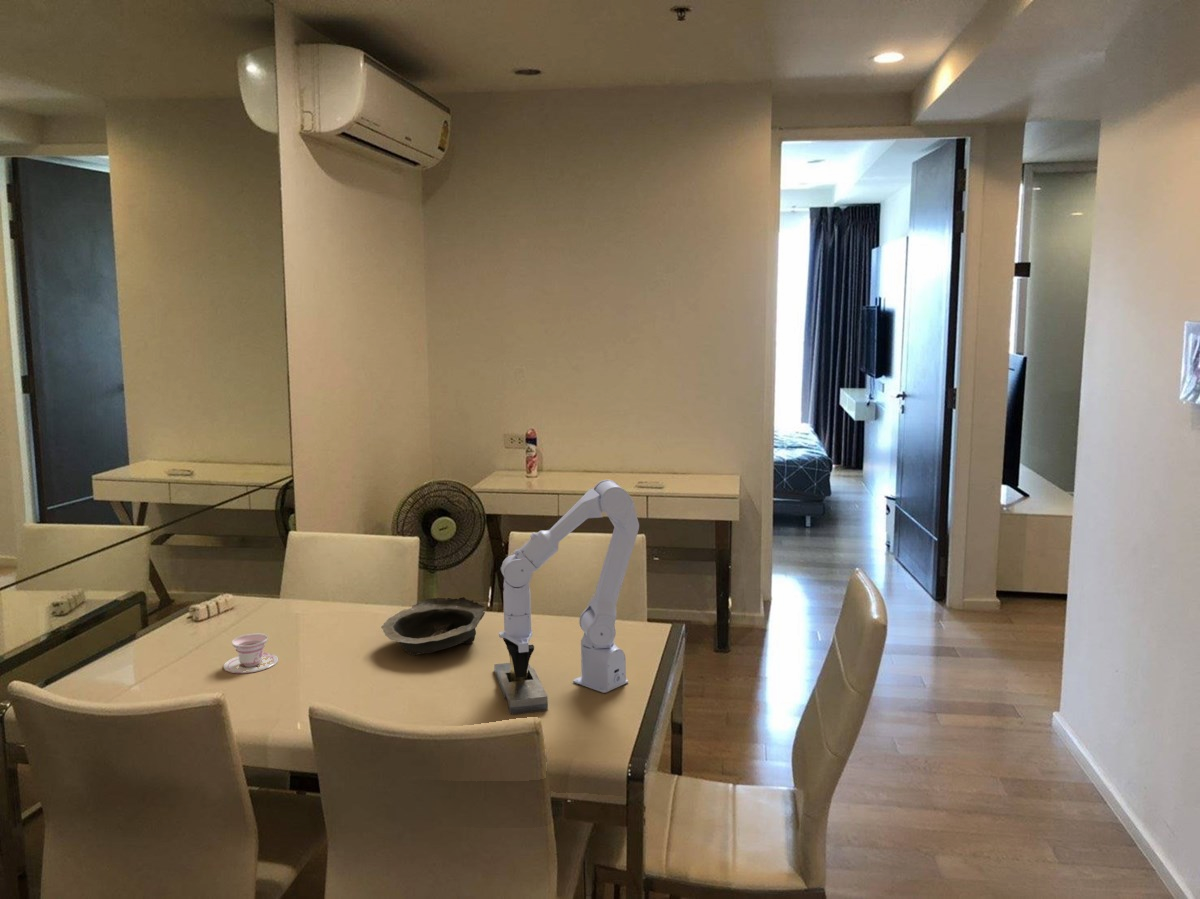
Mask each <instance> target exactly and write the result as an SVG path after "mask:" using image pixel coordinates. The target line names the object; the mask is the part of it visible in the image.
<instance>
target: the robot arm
mask: <svg viewBox="0 0 1200 899" xmlns="http://www.w3.org/2000/svg"><path fill="white" fill-rule="evenodd" d="M602 512H603V513H605V514H606V515H607V517H608V519H609V520H610V522H611V524H612V525H613V527H614V528H613V532H612V533H611V534H612V535H611V539H610V541H609V544H608V549H607V551H606V555H605V558H604V562H603V564H602V568H601V570H600V574H599V577H598V581H597V585H596V589H595V591H594V595H593V596H592V597H591V598H590V599H589V601H588V604H587V607H585V609H584V610H583V612H582V613H581V614H580V616H579V619H578V620H579V622H578V623H579V626H580V628H581V630H582V631H583V636H582V638H581V640H580V656H581V657H580V659H581V660H580V663H581V665H580V666H581V676H579V677H576V678H574V679H572V682H573V683H574V684H576V685H577V684H578V685H580V686H583V687H586V688H588V689H591V690H594V691H597V692H600V693H602V694H605V693H608V692H610V691H612V690H613V691H614V690H615V689H618V688H619V687H621V686H624V685H625V684H628V683H629V680H628V679H626V678H627V677H626V675H627V674H626V673H627V672H626V671H627V669H626V667H627V666H626V654H625V652H624V650H623V649H621V648H620V647H618V646H617V645H616V643H615V638H616V632H617V631H616V625H615V624H616V621H617V602H618V599H619V596H620V593H621V589H622V586H623V582H624V579H625V576H626V572H627V570H628V566H629V562H630V560H631V556H632V553H633V549H634V547H635V544H636V539H637V537H638V533H639V529H640V522H639V520H638V515H637V511H636V509H635V501H634V500H633V498H632V497H631V496H630V494H629V493H628V492H627V491H626V490H625V488H623V487H621V486H620V485H619V484H618V483H617V482H615V481H614V480H612V479H602V480H600V481H598V482H597V483H596V485H595V486H594V487H593V488H590V489H589V490H587V491H586V492H585V494H584V495H583V496H581V498H579V500H577V502H575V504H574V505H572V507H571V508H570V509H569V510H568V511H566V513H565V514H564V515H563V516H561V517H560V518H559V519H558V520H557V522H555V523H554V524H553V526H552V527H551V528H549V529H547V530H543V529H542V530H539V531H538V532H537V533H536V532H534V531H533V532H532V533H531V534H530V535H529V537H530V539H529V540H528V541H527V542H525V543H524V544H523V545H522V546H521V547H520V548H519V549H517V548H516V549H515V550H513V554H510V555H508V556H506V557H505V559H504V560H503V561H502V564H501V566H500V572H501V574H502V577H503V592H502V594H503V596H502V597H503V620H504V622H503V623H504V624H503V625H504V630H503V631H499V632H498V637H499V638H500V639H502V640H503V642H504V644H505V646H506V650H507V651H508V654H509V657H510V655H511V658H512V662H513V667H514V672H515V675H516V678H519V677H526V674H527V669H528V663H529V662H530V660H531V656H532V654H533V652H534V651H535V645H534V644H530V640H531V639H532V637H533V630H532V607H531V605H532V604H531V602H532V601H531V598H532V597H531V589H530V582H531V580H532V578H533V572H536V571H537V570H538V569H540V568H541V566H543V565H544V564H545V563H546V562H547V561H548V560H550V558H552V557H553V555H555V554H556V553H557V552H558V551H559V544H560V542H561V541H562V540H563V539H564V538H566V537H567V536H568V535H569V534H571V533H572V532H573V531H574V530H575V529H577V528H578V527H579V526H581V525H582V524H583V523H584V522H585V521H587V520H588V519H596V518H597V519H599V518H600V519H601V518H604V516H603V514H602ZM529 664H530V663H529Z"/></svg>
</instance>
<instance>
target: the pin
mask: <svg viewBox="0 0 1200 899" xmlns="http://www.w3.org/2000/svg"><path fill="white" fill-rule="evenodd" d="M509 663H510V668H511V682H515V681H524V680H528V672H527V674H526V677H519V678H516V675H515V672H514V667H513V662H512V658H511V655H510V656H509Z"/></svg>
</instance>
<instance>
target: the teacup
mask: <svg viewBox="0 0 1200 899" xmlns="http://www.w3.org/2000/svg"><path fill="white" fill-rule="evenodd" d="M268 638H269V637H268V635H267V634H266V633H262V632H261V633H259V632H253V633H247V634H242V635H240V636H237V637H235V638H233V640H232V641H231V645H232V647H233V648H235V651H236V652H237V653H238V656H234V657H233V658H231V659H228V660H227V661H226V662H225V663H224V664H223V666H222V667H223V670H224V671H225V672H228V673H231V674H232V673H233V674H251V673H255V672H256V673H257V672H260V671H264V670H267V669H270V668H272V667H273V666H275V665H276V664H277V663H278V662H279V658H278V656H277V655H275V654H273V653H268V652H264V648H265V644H266V643H267V641H268ZM263 656H264V657H263ZM266 657H269V658H268V659H267V660H265V659H263V658H266ZM270 658H271V659H270ZM262 659H263V660H262ZM261 660H262V661H261ZM271 660H273V662H270V664H267V662H269V661H271ZM260 662H261V664H263V663H266V664H265V666H263V665H260ZM238 665H239V668H238V669H237V668H236V667H237V666H238ZM241 665H244V667H243V666H241ZM259 665H260V667H259V669H258V668H257V667H256V666H259ZM246 670H249V671H246ZM243 671H246V672H243Z"/></svg>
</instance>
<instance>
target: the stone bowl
mask: <svg viewBox="0 0 1200 899" xmlns="http://www.w3.org/2000/svg"><path fill="white" fill-rule="evenodd" d="M484 610H486V607H485V606H484V605H482V604H479V603H478V602H474V600H473V599H472V600H469V599H467V598H465V596H464V597H459V598H451V597H450V598H449V597H448V598H443V597H436V598H435V597H434V598H430V597H429V598H426V599H422V600H421V599H420V600H419V601H418V603H416V604H413V605H412V607H411V608H405V609H402V610H401V611H399V612H397V613H395V614H393V616H392V615H391V617H389V618H388V619H386V621H385V622H384V623H383V625H381V627H380V628H381V629H382V632H383V633H384V636H385V637H387V638H388V639H389V640H391V641H393V642H398V643H399V644H400V646H401V647H402V649H403V650H404V651H406V652H407V653H408V654H410V655H414V656H417V655H422V654H430V653H434V652H438V651H441V650H444V649H449V648H451V647H456V646H457V645H459V644H464V645H469V644H471V643H473V642H475V639H476V635H477V632H476V631H477V629H476V628H477V627H478V625H479V623H480V621H481V620H482V619H483V617H484V616H485V613H486V611H484Z"/></svg>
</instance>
